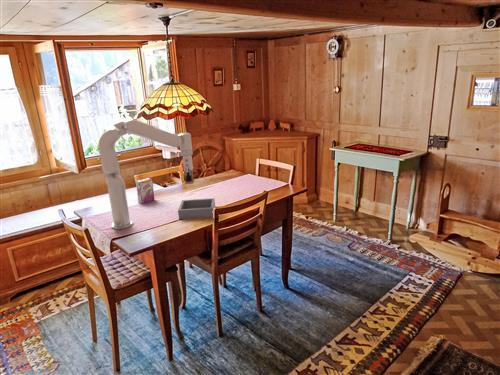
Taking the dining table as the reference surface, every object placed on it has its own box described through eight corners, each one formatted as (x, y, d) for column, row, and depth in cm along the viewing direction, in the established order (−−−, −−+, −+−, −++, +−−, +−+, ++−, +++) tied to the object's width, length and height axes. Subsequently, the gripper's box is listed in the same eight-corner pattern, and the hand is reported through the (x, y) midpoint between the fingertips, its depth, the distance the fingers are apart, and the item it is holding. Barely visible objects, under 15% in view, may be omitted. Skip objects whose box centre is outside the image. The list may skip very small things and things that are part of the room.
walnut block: (193, 183, 232) (191, 170, 230) (185, 184, 232) (184, 170, 230) (193, 181, 237) (192, 168, 235) (186, 182, 237) (184, 168, 234)
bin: (213, 217, 228) (213, 208, 226) (178, 219, 227) (177, 210, 225) (215, 206, 247) (214, 198, 245) (182, 208, 246) (182, 200, 244)
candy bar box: (142, 204, 259) (139, 182, 255) (138, 202, 262) (135, 181, 258) (155, 199, 267) (152, 178, 263) (151, 198, 271) (148, 177, 266)
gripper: (191, 154, 221) (194, 183, 226) (193, 149, 237) (196, 176, 242) (179, 155, 220) (182, 184, 226) (182, 150, 237) (184, 177, 242)
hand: (189, 179), depth 234 cm, fingers closed on walnut block, 5 cm apart
